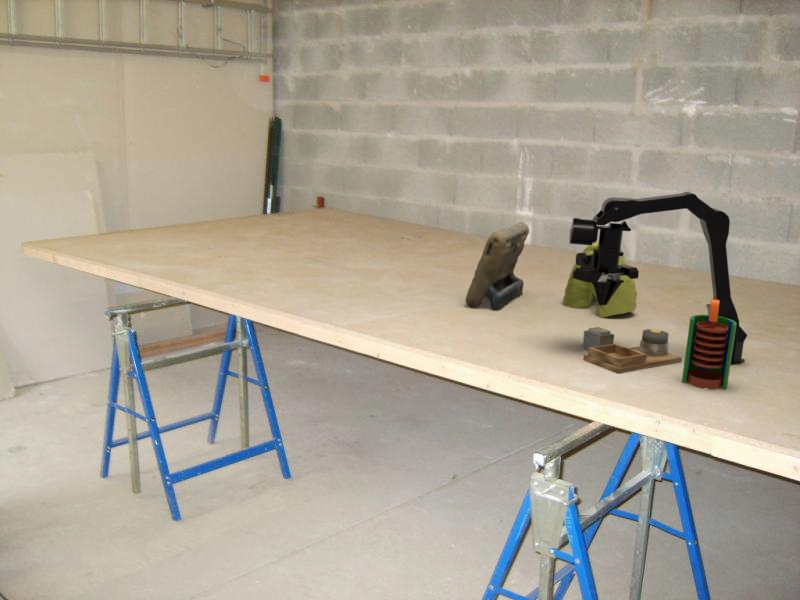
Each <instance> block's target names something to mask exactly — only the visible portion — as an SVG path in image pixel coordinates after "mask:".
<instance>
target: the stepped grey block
mask: <svg viewBox="0 0 800 600" xmlns="http://www.w3.org/2000/svg"><path fill="white" fill-rule="evenodd" d="M614 338H615V333H611V330H610V329H609V330H608V329H605V328H602V327H600V326H597V327H589V328H588V330H584V331H583V338H582V339H583V341H582V349H583V348H584V349H583V350H585V349H586V351H588V349H589V347H595V346H602V345H608V344H614V340H615V339H614Z"/></svg>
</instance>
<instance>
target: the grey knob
mask: <svg viewBox="0 0 800 600" xmlns="http://www.w3.org/2000/svg"><path fill="white" fill-rule="evenodd" d="M669 336H670V335H669V333H668V332H667V331H664V330H660V329H655V328H650V329H648V328H647V329H644V330H643V331H642V336H641V340H643V341H644V342H647V343H652V344H666V343H669V342H668V341H669Z"/></svg>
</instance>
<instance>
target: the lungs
mask: <svg viewBox="0 0 800 600" xmlns="http://www.w3.org/2000/svg"><path fill="white" fill-rule="evenodd" d="M598 243H599V241H596V242H595V243H592V245H586V247H585V248H584V249H583V251H582V252H581V253H586V255H593V251H594V249H598ZM620 251H621V252H622V249H621V250H620ZM619 265H628V266H629V264H628V263H627V262H625V256H624V255H623V256H620V258H619ZM576 268H580V265H576V262H575V263H574V265H573V266H572V269H571V271H570V274H569V277H568V280H567V284H566V287H565V289H564V296H563V298H562V303H563V305H564V306H565V305H566V306H565V307H567V306H570V307H572V308H573V307H576V308H575V309H583V308H584V309H585V308H587V307H589V306H590V305H591V304H590V303H591V302H593V301H594V303H595V302H596V309H595V313H596V314H597V316H598V318H606V317H611V316H615V315H621V314H628V313H630V312H631V313H633V312H635V310H636V308H637V299H638V297H637V296H638V292H637V289H636V288H637V287H636V282H635V281H634V280H635V279H630V278H629V277H628V276H626V275H621V276H620V277H621V278H620V280H624V283H621V285H620V286H619V287H618V289H617V290H616V291H615V293H614V294H613V296H612V297H611V299H610V300H609V302H608V303H607V305H602V306H600V305H599V304H598V300H597V296H596V292H595V288H594V286H593V284H592V283H591V282H584V281H581V280H577V279H574V278H573V271H574V270H575V269H576ZM594 270H596V269H594ZM602 274H604V273H602ZM570 307H569V308H570Z"/></svg>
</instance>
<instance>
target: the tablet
mask: <svg viewBox="0 0 800 600" xmlns="http://www.w3.org/2000/svg"><path fill="white" fill-rule="evenodd" d="M529 234H530V229H529V225H527V223H525V222H524V221H522V222H521V221H520V222H517V223H516V224H514V225H511V226H509V227H508V226H507V227H505V228H503V229H500V230H497V231H493V232H491V234H490V235H489V237H488V239H487V240H486V243H485V245H484V249H483V251H482V255H481V257H480V259H479V260H478V263H477V266H476V269H475V271H474V275H473V278H472V280H471V283H470V286H469V288H468V290H467V294H466V295H465V296H466V297H465V303H466V307H470V308H471V309H475V308H479V307H481V306H482V305H483V302H484V300H485V299H486V298H487V300H488V301H489V303H490V309H491V310H492V311H495V310H496V311H500V310H501V309H503V308H504V307H506V306H508V305H509V304H510V303H509V302H511V301H512V300H513V301H515V300H516V299H518V298H520V297H521V296H522V295H523V294H524V293H523V288H524V280H523V279H522V278H519V277H517V276H516V275H515V273H514V271H515V268H516V267H517V263H518V259H519V257H520V256H521V254H522V252H523V251H524V247H525V242H526V240H527V238H528V236H529ZM520 295H521V296H520ZM517 297H518V298H517ZM515 298H516V299H515ZM514 299H515V300H514ZM513 301H512V302H513ZM512 302H511V303H512ZM508 303H509V304H508ZM505 305H506V306H505Z"/></svg>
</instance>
